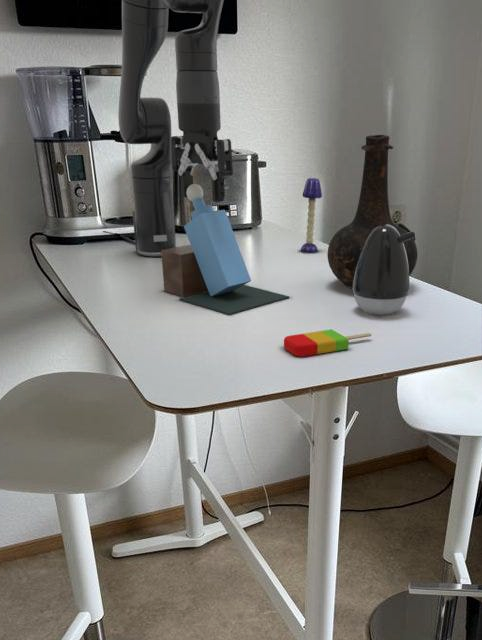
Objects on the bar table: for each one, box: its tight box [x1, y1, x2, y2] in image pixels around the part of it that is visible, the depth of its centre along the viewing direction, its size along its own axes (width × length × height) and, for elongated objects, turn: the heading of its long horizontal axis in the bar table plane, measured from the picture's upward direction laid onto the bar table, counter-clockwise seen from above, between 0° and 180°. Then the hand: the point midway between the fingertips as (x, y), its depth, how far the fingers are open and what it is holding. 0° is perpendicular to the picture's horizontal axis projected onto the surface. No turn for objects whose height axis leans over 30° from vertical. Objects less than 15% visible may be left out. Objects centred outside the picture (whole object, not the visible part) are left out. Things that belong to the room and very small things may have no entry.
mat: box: [178, 284, 290, 316], centre depth 135 cm, size 14×16×1 cm
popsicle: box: [283, 328, 372, 358], centre depth 111 cm, size 6×15×2 cm, turn 116°
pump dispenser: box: [352, 224, 417, 316], centre depth 124 cm, size 10×10×15 cm
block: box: [161, 244, 208, 298], centre depth 139 cm, size 6×12×8 cm, turn 137°
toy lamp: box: [300, 177, 323, 254], centre depth 168 cm, size 5×5×17 cm
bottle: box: [183, 183, 252, 297], centre depth 133 cm, size 14×6×19 cm, turn 47°
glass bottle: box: [326, 134, 418, 289], centre depth 136 cm, size 18×18×28 cm
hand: (203, 199), depth 131 cm, fingers open, 8 cm apart
